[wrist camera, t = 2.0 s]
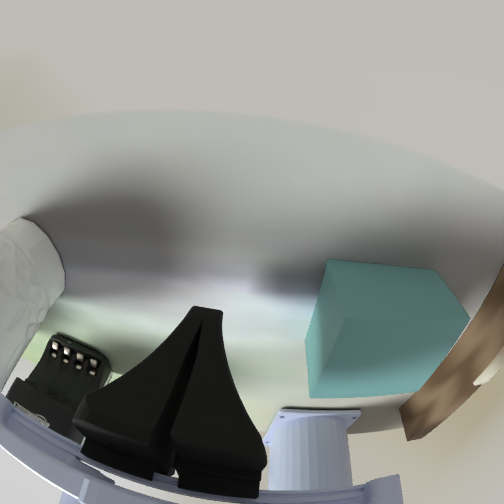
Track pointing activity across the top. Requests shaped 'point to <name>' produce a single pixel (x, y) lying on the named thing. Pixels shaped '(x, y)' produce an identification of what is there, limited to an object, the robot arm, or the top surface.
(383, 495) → the robot arm
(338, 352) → the teal block
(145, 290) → the top surface
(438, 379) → the walnut board
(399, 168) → the top surface
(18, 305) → the white cup
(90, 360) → the battery charger
